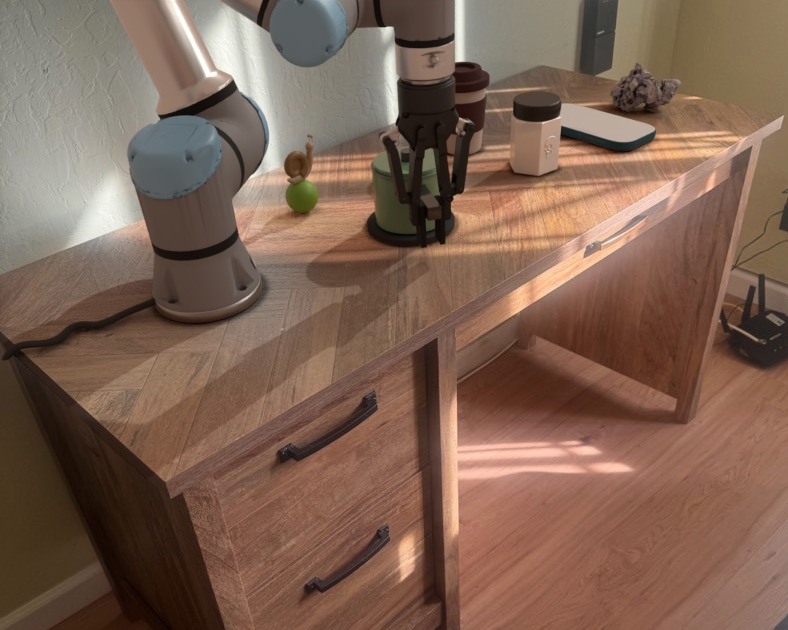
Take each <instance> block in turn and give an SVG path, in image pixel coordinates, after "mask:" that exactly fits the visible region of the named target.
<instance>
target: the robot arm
mask: <svg viewBox="0 0 788 630" xmlns="http://www.w3.org/2000/svg"><path fill="white" fill-rule="evenodd" d="M219 1H220V2H221V3H222V4H224V5H226V6H227V7H229V8H230V9H232V10H233V11H235V12H237V13H238V14H240V15H241V16H243V17H245V18H246V19H248V20H249V21H250V22H252V23H254V24H255V25H257V26H258V27H260V28H262V29H263V30H264V31H266V32H267V33H269V35H270V38H271V42H272V44H273V46H274V47H275V49H276V51H277V52H278V54H280V56H281V57H282V58H283V59H284V60H285V61H286V62H288V63H290V64H292V65H294V66H297V67H300V68H315V67H319V66H321V65H323V64H324V63H326V62H327V61H328V60H330V59H332V58H333V57H335V56H336V55H337V54H338V52H339V51H340V50H342V49H343V47H344V46H345V44H346V42H347V40H348V38H349V37H350V36H351V35H352V34H353V33H354V32H355V31H356V30H357V29H368V28H369V29H370V28H371V29H373V28H382V29H383V28H393V33H394V51H395V74H396V75H397V76H398V80H397V81H396V91H397V93H396V94H397V109H398V110H397V111H398V115H397V118H396V119H395V123H394V124H395V125H394V126H393V127H392V128H390V129H389V130H388V131H385V130H383V131H380V133H379V134H378V139H379V140H380V142H381V144H382V145H383V147H384V148H385V151H386V153H387V158H388V163H389V168H390V173H391V178H392V183H393V188H394V193H395V196H396V198H397V199H398V201H399V202H400V203H401V204H409V220H410V222H411V223H412V225H413V226H416V236H417V241H418V243H419V244H420V245H419V246H420V248H421V249H426V248H427V247H428V244H427V237H426V209H425V205H424V203H423V202H422V200H421V199H420V197H421V183H422V169H423V159H424V157H425V150H427V149H433V151H434V159H435V166H436V173H437V181H438V188H439V193H440V196H439V195H435V196H434V197H435V198H436V200H437V201H438V202H439V204H440V205H441V219H437V220H435V237H436V239H437V240H438V241H437V242H438V243H439V245H440V246H442V245H446V237H445V220H450V218H451V211H452V203H453V202H454V200H455V198H454V197H455V196H457V195H462V194H463V193H464V192H465V188H466V178H467V172H468V164H469V157H470V156H469V155H470V154H469V149H470V141H471V139H472V137H473V135H474V133H475V131H476V125H475V124H474V123H473V122H472V121H471V120H469V119H468V118H466V119H462V118H460V117H459V115H458V113H457V112H456V109H455V78H454V76H453V75H452V74H453V72H454V71H455V62H456V47H455V46H456V0H219ZM109 2H110V4H111V6H112V8H113V10H114V12H115V13H116V16H117V17H118V20H119V21H120V24H121V25H122V27H123V29H124V31H125V32H126V35H127V36H128V38H129V41H130V42H131V44H132V46H133V47H134V49H135V51H136V53H137V55H138V57H139V59H140V61H141V62H142V65H143V66H144V68H145V70H146V72H147V74H148V76H149V77H150V80H151V81H152V83H153V85H154V88H155V90H156V91H157V93H158V101H157V104H156V108H155V113H156V114H157V117H158V118H159V120H157V122H156V123H149V124H147V125H145V126H143V127H142V128H141V129H140V130H138V131H137V132H136V133H135V134H134V135H132V137H131V139H130V141H129V143H128V145H127V150H126V157H127V162H128V166H129V169H128V170H129V176H130V180H131V182H132V184H133V187H134V189H135V193H136V196H137V199H138V202H139V206H140V209H141V213H142V216H143V219H144V223H145V226H146V227H145V228H146V229H147V233H148V237H149V241H150V243H151V247H152V250H153V255H154V257H153V270H152V285H151V291H152V292H151V295H152V298H149V299H148V300H147V299H146V300H145V301H143V302H140V303H137V304H135V305H132V306H130V307H128V308H125V309H123V310H121V311H119V312H117V313H115V314H113V315H111V316H108V317H106V318H103V319H100V320H94V321H93V320H80V321H75V322H72V323H70V324H68V325H67V326H66V327H65V328H63V329H62V330H61V331H60V332H59V333H58V334H57V335H55V336H53V337H50V338H44V339H34V340H24V341H19V342H16V343H13V344H12V345H11V346H9V347H8V348H7V349H6V350H5V351H4V353H3V355H2V357H1V361H5V362H6V361H8V360H10V359H12V357H13V356H14V355H15V354H16V353H18V352H19V351H21V350H25V349H34V348H38V349H39V348H46V347H51V346H55V345H58V344H60V343H61V342H63V341H64V340H66V339H67V338H68V337H69V336H70V335H71V334H72V333H73V332H75V331H78V330H81V329H89V330H91V329H93V330H94V329H102V328H105V327H109V326H110V325H113V324H114V323H117V322H120V321H121V320H123V319H125V318H127V317H130V316H133V315H134V314H137V313H139V312H142V311H144V310H146V309H149V308H151V307H154V306H155V308H156V311H158V313H160V315H161V316H163V317H165V318H167V319H169V320H172V321H176V322H179V323H188V324H189V323H190V324H198V323H199V324H200V323H201V324H202V323H208V322H216V321H219V320H223V319H225V318H229V317H232V316H234V315H237V314H239V313H241V312H243V311H244V310H246V309H248V308H249V307H251V306H252V305H253V304H254V303H255V302H256V301H257V300H258V299H259V298H260V296H261V294H262V291H263V281H262V276H261V272H260V270H259V267H258V266H257V265H256V260H255V258H254V256H253V255H252V254H251V252H249V251H248V249H247V248H246V246H245V244H244V243H243V241H242V239H241V237H240V233H239V228H238V224H237V223H238V222H237V218H236V213H235V209H234V203H233V199H234V198H235V197H236V195H237V194H238V192H239V191H240V190H241V189H242V188H243V187H244V185H245V184H246V182H247V181H248V180H249V179H250V178H251V176H252V175H254V174H255V173H256V172H257V171H258V170H259V168H260V167H261V165H262V163H263V160H264V158H265V156H266V154H267V152H268V148H269V143H270V129H269V124H268V121H267V118H266V115H265V114H264V111H263V110H262V108H261V107H260V106H259V104H258V103H257V102H256V101H255V100H254V99H253V98H252V97H251V96H247V95H246V94H244V92H243V91H240V90H239V88H238V85H237V83H236V81H235V79H234V77H233V76H232V74H230V73H228V72H225V71H223V70H221V69H219V68H217V66H216V65H215V62H214V60H213V58H212V56H211V54H210V52H209V50H208V47H207V46H206V43H205V41H204V40H203V37H202V35H201V33H200V31H199V29H198V27H197V25H196V23H195V21H194V19H193V16H192V15H191V13H190V10H189V8H188V6H187V4H186V2H185V0H109ZM455 127H456V133H457V136H456V143H455V152H454V155H453V161H452V171H451V173H450V167H449V166H450V165H449V160H448V154H449V153H448V150H447V140H448V138H449V137H450V135H451V133H452V132H453V130H454V129H455ZM400 136H402V138H404V140H405V141H406V142H407V143H408V146H409V152H410V158H409V174H408V191H407V192H406V188H405V183H404V177H403V172H402V167H401V162H400V156H399V152H398V150H397V148H398V146H400ZM450 174H451V175H450Z"/></svg>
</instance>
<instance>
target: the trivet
mask: <svg viewBox="0 0 788 630" xmlns="http://www.w3.org/2000/svg"><path fill="white" fill-rule="evenodd" d="M455 219H456V217H455V215H454V212H453V211H452V210H451V218H450V220H445V238H447V236H449V235H450V234H451V233H452V232H453V231H454V229H455V225H456V224H455V223H456V220H455ZM366 225H367V226H366V227H367V232H368V234H369V235H370V237H372V239H374V240H376V241H378V242H381V243H383V244H387V245H389V246H390V245H391V246H397V247H398V246H399V247H416V246H417V247H418V246H420V244H419V243H418V241H417V236H416V234H398V233H392V232H389V231H386V230H384V229H382V228H380V227H379V226H378V225H377V223H376V218H375V210H374V211H373V212H372V213H371V214H370V215H369V216H368V218H367V221H366ZM426 237H427V245H429V244H432V243H435V242H438V240H437V239H436V237H435V229H433V230H430V231H427V232H426Z"/></svg>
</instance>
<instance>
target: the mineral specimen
mask: <svg viewBox="0 0 788 630" xmlns="http://www.w3.org/2000/svg"><path fill="white" fill-rule="evenodd" d="M660 83H661V84H660ZM681 84H682V81H681V80H680V79H677V78H669V79H661V80H660V81H658V80H655V78H654V77H653V73H651V72H649V70H648V69H647V68H646V67H644V68H643V67H642V64H641V63H640V62H639V61H636V63H635V65H634V67H633V69H631V70H630V71H629V74H628V75H627V76H626V75H622V77H620V79H619V82H618V83H617V84H616V85H615V86H614V87H613V89H612V90H611V91H610V94H609V95H610V96H611V98H612V101H611V102H612V104H613V105H614V106H615V108H618V109H621V110H622V111H625V112H627V113H628V112H631V111H634V109H635V107H638V106H640V105H641V104H645V105H644V106H643V107H642V108H643V109H644V110H645V111H647V110H649V111H651V112H654V113H657V112H658V111H659V109H660V107H661V106H666V105H667V104H670V102H671V101H672V99H673V98H674V97H675V96H676V91H677V90H678V88H679V87H680V86H681Z"/></svg>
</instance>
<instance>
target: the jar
mask: <svg viewBox="0 0 788 630" xmlns="http://www.w3.org/2000/svg"><path fill="white" fill-rule="evenodd" d="M561 104H562V97H561V96H560V95H559V94H557V93H555V92H552V91H545V90H544V91H543V90H542V91H541V90H534V91H533V90H532V91H526V92H522V93H519V94H517V95H515V96H514V98H513V100H512V111H511V113H510V138H509V164H510V167H511V169H512V171H513V173H515V174H522V175H529V176H533V177H534V176H536V177H539V176H542V175H546V174H548V173H550V172H554V171H557V170H558V168H559V158H560V157H559V156H560V143H561V134H560V133H561V120H562V117H561V115H560V111H561Z"/></svg>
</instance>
